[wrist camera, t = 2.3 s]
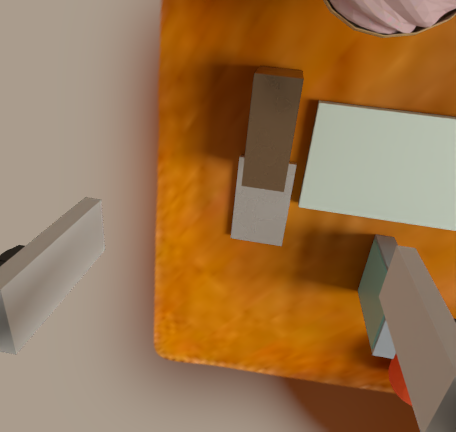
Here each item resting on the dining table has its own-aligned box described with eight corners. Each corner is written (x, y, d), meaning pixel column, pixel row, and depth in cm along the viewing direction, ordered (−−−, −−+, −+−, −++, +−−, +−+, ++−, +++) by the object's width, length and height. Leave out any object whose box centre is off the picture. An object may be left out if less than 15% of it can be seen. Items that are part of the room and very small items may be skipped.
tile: (374, 234, 42) (395, 290, 33) (394, 237, 41) (420, 294, 33) (356, 290, 45) (370, 354, 37) (374, 293, 45) (393, 359, 36)
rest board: (318, 100, 36) (319, 102, 35) (563, 130, 34) (572, 133, 33) (298, 202, 41) (298, 207, 40) (509, 234, 39) (515, 239, 38)
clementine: (397, 322, 47) (413, 369, 40) (454, 336, 46) (479, 385, 40) (375, 366, 50) (386, 414, 44) (428, 379, 50) (446, 430, 44)
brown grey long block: (250, 64, 36) (242, 71, 31) (313, 71, 35) (316, 80, 30) (231, 234, 45) (223, 262, 39) (281, 242, 44) (279, 272, 39)
